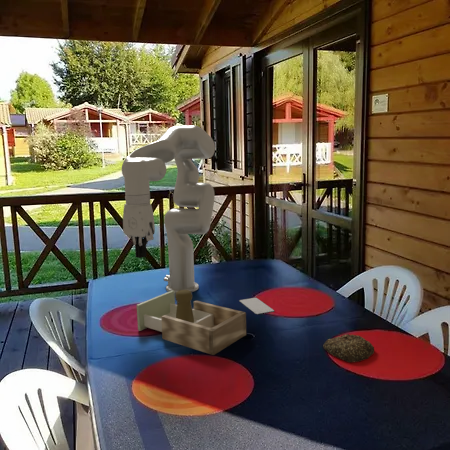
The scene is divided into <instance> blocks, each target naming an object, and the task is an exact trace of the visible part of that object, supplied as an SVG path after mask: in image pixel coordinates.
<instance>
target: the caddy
mask: <svg viewBox="0 0 450 450" xmlns="http://www.w3.org/2000/svg"><path fill="white" fill-rule="evenodd" d="M193 309H196V310H200V311H204V312H207V313H211V314H214V326H212V327H206V326H202V325H199V324H195V323H192V322H188V321H184V320H181V319H177V318H174V317H170V316H167V315H164V316H161V319H162V332H161V334H162V335H161V337H162V339H163V340H165V341H166V342H167V341H168V342H171V343H174V344H177V345H179V346H180V345H181V346H183V347H186V348H189V349H193V350H196V351H199V352H202V353H206V354H208V355H212V356H215V355H217V354H218V353H220V352H221V351H223V350H224V349H226V348H228V347H230V346H231V345H232V344H234V343H235V342H237V341H239V340H240V339H242V338H244V337H246V336H247V312H245V311H242V310H237V309H232V308H229V307H225V306H220V305H218V304H217V305H216V304H211V303H209V302H204V301H200V300H194V301H193Z"/></svg>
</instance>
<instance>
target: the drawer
mask: <svg viewBox="0 0 450 450" xmlns="http://www.w3.org/2000/svg"><path fill="white" fill-rule="evenodd" d="M175 294H176V293H175V292H174V291H173V290H172V291H169V292H168V291H166V292H165V293H162V294H159V295H157V296H154V297H152V298H150V299H148V300H145V301H143V302H141V303H137V304H136V317H137V318H136V319H137V331H139V332H140V331H144V330H146V329H147V328H148V329H151V330H155V331H157V332H161V333H162V319H161V316H164V315H167V316H170V317H174V318H176V310H177V303H176V299H175ZM192 311H193V317H194V323H195V324H199V325H202V326H206V327H212V326H214V314H211V313H207V312H204V311H200V310H196V309H194V308H192Z"/></svg>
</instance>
